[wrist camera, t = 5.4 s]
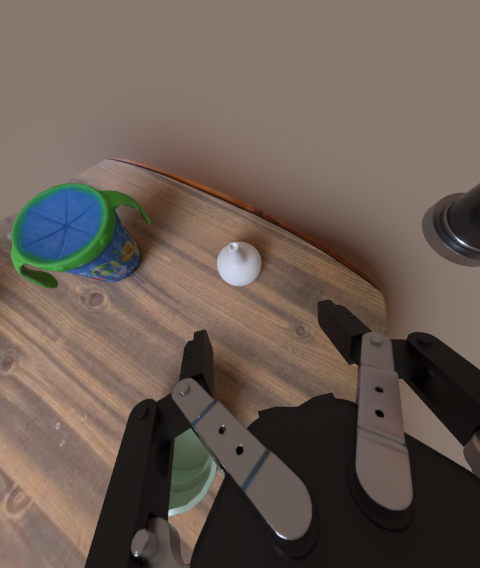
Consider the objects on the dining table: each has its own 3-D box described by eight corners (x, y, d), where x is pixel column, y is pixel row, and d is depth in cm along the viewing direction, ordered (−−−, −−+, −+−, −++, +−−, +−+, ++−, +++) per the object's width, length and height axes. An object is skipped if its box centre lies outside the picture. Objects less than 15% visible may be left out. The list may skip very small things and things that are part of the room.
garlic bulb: (265, 254, 30) (271, 224, 22) (254, 293, 28) (256, 274, 21) (226, 244, 31) (218, 212, 23) (213, 281, 29) (200, 259, 22)
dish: (216, 383, 25) (208, 392, 20) (231, 468, 23) (226, 501, 18) (146, 400, 25) (122, 413, 20) (153, 488, 22) (127, 527, 18)
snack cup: (149, 211, 33) (108, 157, 24) (178, 260, 31) (144, 220, 21) (61, 259, 31) (-24, 221, 22) (83, 315, 29) (-3, 301, 19)
